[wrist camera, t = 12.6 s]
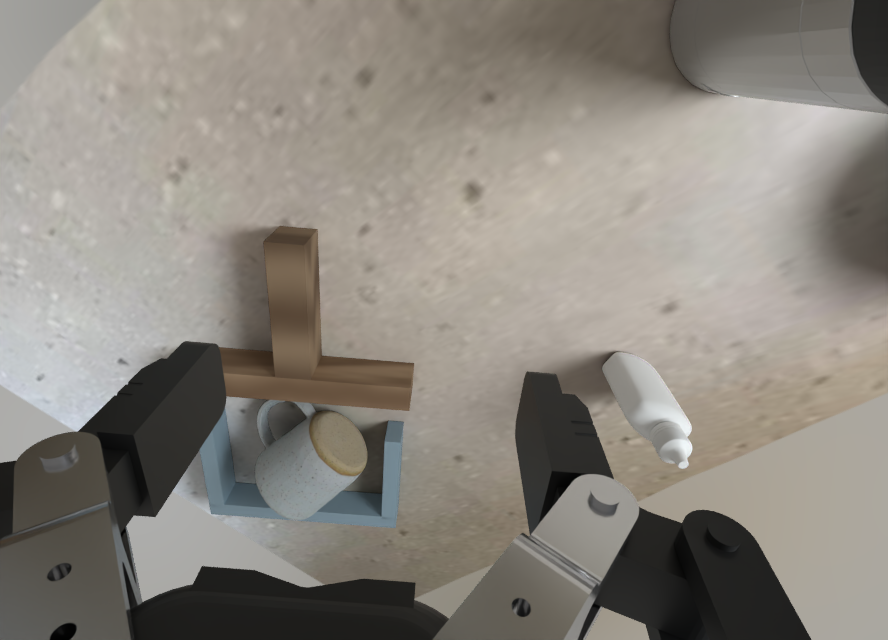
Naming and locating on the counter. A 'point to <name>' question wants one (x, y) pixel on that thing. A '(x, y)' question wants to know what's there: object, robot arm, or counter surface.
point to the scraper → (307, 342)
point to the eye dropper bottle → (649, 406)
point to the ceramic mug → (307, 461)
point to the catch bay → (340, 509)
